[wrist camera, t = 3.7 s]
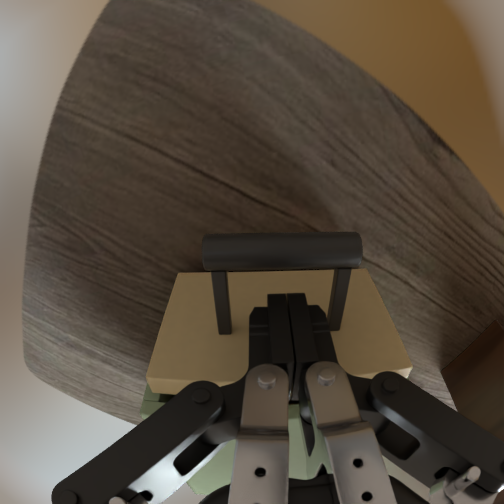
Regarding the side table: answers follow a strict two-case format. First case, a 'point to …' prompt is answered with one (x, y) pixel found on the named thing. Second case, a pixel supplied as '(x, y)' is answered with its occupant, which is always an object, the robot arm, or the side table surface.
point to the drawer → (255, 295)
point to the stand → (481, 383)
